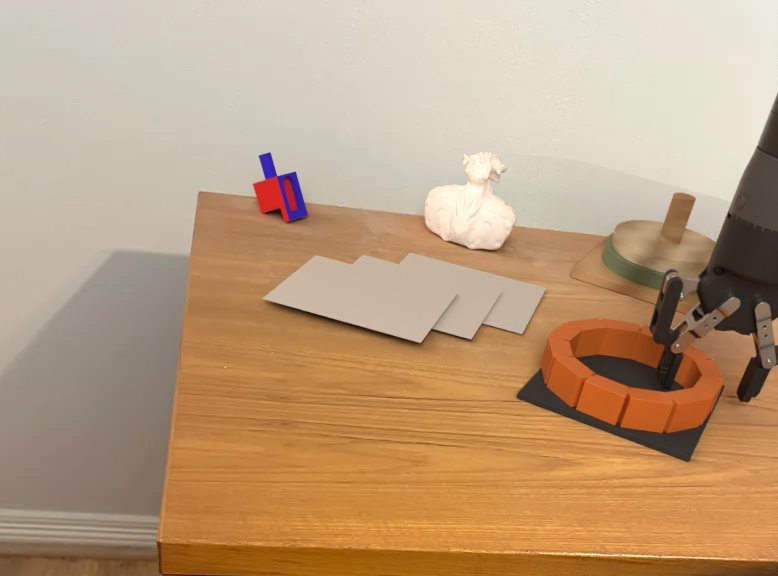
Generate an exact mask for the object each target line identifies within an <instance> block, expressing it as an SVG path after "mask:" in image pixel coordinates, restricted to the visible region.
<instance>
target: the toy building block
mask: <svg viewBox="0 0 778 576" xmlns="http://www.w3.org/2000/svg"><path fill="white" fill-rule="evenodd" d="M258 159H259V163H260V164H261V170H262V172H263V176H264V180H260V181H258V182H254V183H252V187H253V189H254V193H255V196H256V200H257V205H258V207H259V210H260V213H261V214H264V213H267V212H271V211H274V210H277V209H280V212H281V215H282V218H283V221H284V223H288V222H289V223H290V222H292V221H295V220H298V219H302V218H304V217H308V216H309V214H308V210H307V207H306V202H305V199H304V196H303V192H302V189H301V185H300V180H299V178H298V173H297V171H296V170H295V171H292V172H289V173H284V174H280V175H278V174H277V173H278V172H277V170H276V166H275V163H274V160H273V156H272V153H271V152H265V153H262V154H258Z"/></svg>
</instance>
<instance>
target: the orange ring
mask: <svg viewBox="0 0 778 576" xmlns="http://www.w3.org/2000/svg"><path fill="white" fill-rule="evenodd" d="M664 347H665V346H664V345H662V344H657V343H655V342H654V340H653V335H652V333H651V331H650V328H649V326H647V325H645V324H643V325H642V326H640V323H638V322H631V321H625V320H615V319H610V318H604V317H602V318H601V319H599V318H598V317H595V318H587V319H585V318H584V319H579V320H578V319H577V320H568V321H567V322H563V323H562V324H561V325H559V326H558V327H557V328H555V329H554V330H552V331H551V333H549V334H548V337H547V340H546V344H545V347H544V350H543V354H542V358H541V361H540V368H541V369H542V374H543V378H544V383H545V384H547V387H548V388H549V389H550V390H551V391H552V392H553V393H555V394H556V395H557V396H558V397H559V398H561V399H562V400H563V401H564V402H565V403H566V404H568V405H569V406H570V407H576V406H577V407H576V410H577V411H580V412H582V413H585V414H587V415H590V416H592V417H595V418H597V419H599V420H602V421H604V422H607V423H609V424H612V425H616V424H617V423H618V422H619V424H620V427H621V428H628V429H636V430H643V431H650V432H657V433H663V430H664V431H665V432H666V433H671V432H676V431H681V430H686V429H691V428H696V427H698V426H699V425H702V424H703V422H704V421H705V420H706V418H707V417H708V415H709V414H710V412H711V411H712V409H713V407H714V405H715V403H716V400H717V398H718V396H719V393H720V391H721V389H722V387H723V385H725V381H724V380H725V378H724V377H723V375H722V373H721V371H720V370H719V368H718V366H717V364H716V362H715V360H712V357H711V356H709V355H707V353H705V352H703V351H702V350H700V349H698V348H697V347H695V345H692V343H691V344H690V345H689V346H688V347H687V348H686V349H685V350H683V351H682V352H683V355H684V357H683V359H682V362H681V364H680V367H679V369H678V372H677V374H676V377H675V381H676V382H677V383H679V384H680V385H682V386H683V387H684V389H682V390H676V391H671V392H660V391H653V390H646V389H639V388H632V387H628V386H625V385H623V384H620V383H618V382H615V381H612V380H610V379H607V378H605V377H602V376H600V375H597V374H595V373H594V372H593V371H592V370H590V369H589V368H588V367H586V366H585V365H584V364H583V363H581V362H580V361H579V360H577V359H576V358H577V357H584V356H591V355H598V354H599V355H606V356H613V357H620V358H627V359H632V360H635V361H637V362H640V363H643V364H645V365H648V366H651V367H653V368H657V366H658V363H659V361H660V358H661V355H662V352H663V350H664Z"/></svg>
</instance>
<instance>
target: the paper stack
mask: <svg viewBox="0 0 778 576" xmlns="http://www.w3.org/2000/svg"><path fill="white" fill-rule="evenodd" d="M546 290H547V287H544V286H541V285H537V284H533V283H529V282H525V281H521V280H519V279H515V278H510V277H506V276H502V275H498V274H494V273H492V272H486V271H483V270H479V269H475V268H471V267H467V266H464V265H459V264H456V263H453V262H449V261H444V260H441V259H436V258H433V257H429V256H426V255H421V254H417V253H413V252H409V253H408V254H407V255H406V256H405V257H404V258H403V259H402V260H401V261H400V262H399V263H396V262H393V261H389V260H386V259H382V258H377V257H373V256H370V255H367V254H362V255H361V256H360V257H358V258H357V259H356V260H355V261H354V262H353V263H349V262H344V261H341V260H336V259H333V258H329V257H325V256H321V255H317V254H315V255H314V256H313V257H311V258H310V259H309V260H308V261H307V262H305V263H304V264H303V265H301V266H300V267H299V268H298V269H296V271H294V272H293V273H292V274H291V275H289V276H288V277H287V278H286V279H284V280H283V281H282V282H280V283H279V284H278V285H277V286H276V287H275V288H273V289H272V290H271V291H269V292H268V293H267V294H266V295H264V297H262V298H261V299H262V300H265V301H267V302H272V303H275V304H280V305H283V306H286V307H290V308H294V309H298V310H300V311H304V312H309V313H310V314H311V313H312V314H316V315H319V316H322V317H326V318H330V319H334V320H336V321H340V322H344V323H347V324H352V325H354V326H359V327H362V328H365V329H369V330H373V331H375V332H380V333H383V334H387V335H391V336H394V337H398V338H400V339H405V340H407V341H412V342H415V343H419V344H421V343H422V342H423V341H424V339H425V338H426V336H428V334H429V333H430V331H431V330H435V331H439V332H442V333H446V334H450V335H453V336H457V337H460V338H465V339H468V340H473V338H474V336H475V335H476V333H477V331H478V330H479V328H480V327H481V325H487V326H491V327H494V328H498V329H502V330H505V331H508V332H513V333H515V334H519V335H523V333H524V332H525V330H526V327H527V326H528V324H529V322H530V321H531V318H532V317H533V315H534V313H535V311H536V309H537V307H538V305H539V303H540V302H541V300H542V298H543V296H544V293H545V292H546Z"/></svg>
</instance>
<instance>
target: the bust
mask: <svg viewBox="0 0 778 576" xmlns="http://www.w3.org/2000/svg"><path fill="white" fill-rule="evenodd" d="M461 157H462V160H463V162H462V165H463V166H465V168H464V173H465V174H466V176H467V181H466V184H464V185H460V184H456V183H454V184H445V185H437V186H435V187H433V188H432V189H431V190H429V191H428V193H427V195H426V198H425V202H424V209H423V210H424V211H423V215H424V217H423V218H424V222H425V226H426V228H427V229H428V230H429V231H431V232H432V233H434V234H435V235H438V236H439V237H440V238H441V239H442V240H443V241H444V242H451V243H455V244H458V245H461V246H464V247H467V248H468V249H470V250H479V249H482V250H487V251H488V250H489V251H496V250H499V249H500V248H501V247H502V245H503V244H504V243H505V241H506V240H507V238H508V237H509V236H510V234H511V233H512V231H513V229H514V228H515V226H516V223H517V222H518V218H517V215H516V212H515V210H514V207H512V206H511V205H510V204H509V203H508V202H507V201H506V200H505V199H504V198H502V197H501V196H498V195H494V194H493V192H494V191H493V187H492V184H493V183H492V182H494V183H496V184H500V180H501V179H500V178H501V174H505V173H506V172H507V170H508V166H507V165H505V164H504V163H503V162H502V161H501V158H500V157H499V156H498V155H496V154H495V153H492V151H486V152H483V151H479V152H477V153H475V154H470V155H467V154H466V153H462V155H461Z"/></svg>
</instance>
